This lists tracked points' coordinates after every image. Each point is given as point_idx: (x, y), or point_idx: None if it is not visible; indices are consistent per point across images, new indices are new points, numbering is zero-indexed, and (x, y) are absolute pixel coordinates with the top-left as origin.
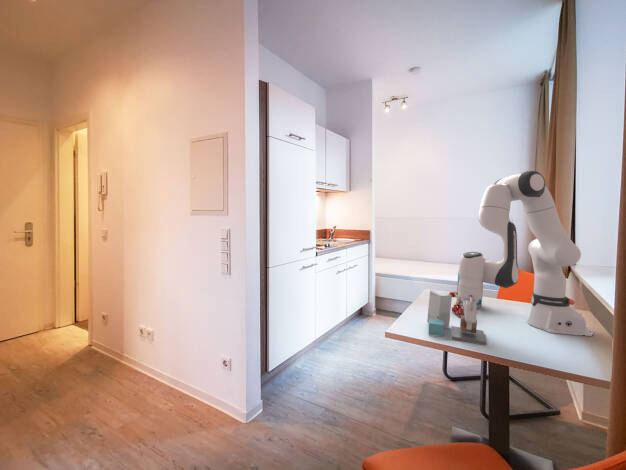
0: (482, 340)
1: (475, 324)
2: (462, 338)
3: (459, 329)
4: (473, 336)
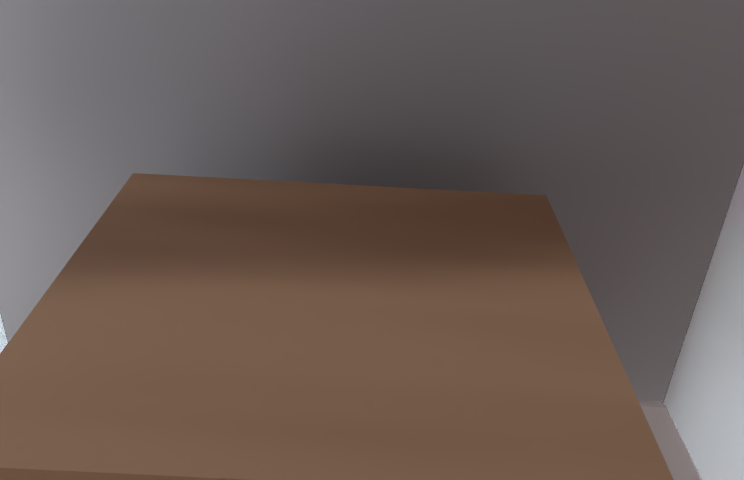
0: (721, 22)
1: (612, 408)
2: (661, 402)
3: None
4: None
